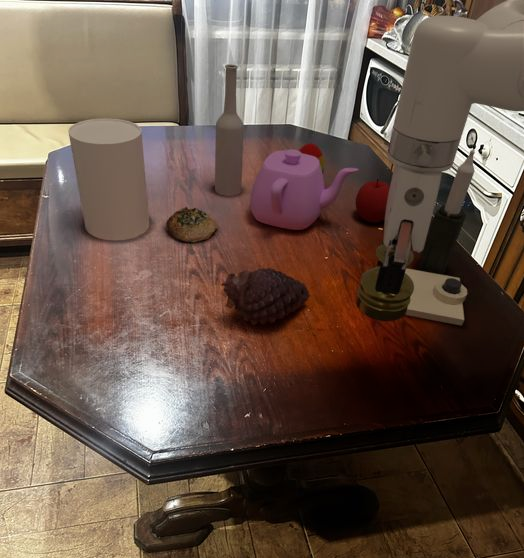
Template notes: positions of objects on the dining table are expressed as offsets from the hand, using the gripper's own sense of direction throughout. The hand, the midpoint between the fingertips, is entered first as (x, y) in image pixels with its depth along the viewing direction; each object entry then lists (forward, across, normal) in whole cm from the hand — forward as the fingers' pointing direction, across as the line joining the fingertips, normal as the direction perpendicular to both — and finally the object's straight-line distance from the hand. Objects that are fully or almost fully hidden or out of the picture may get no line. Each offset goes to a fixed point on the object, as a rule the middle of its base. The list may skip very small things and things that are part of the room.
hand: (387, 278), depth 70 cm
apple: (+19, +54, +2) cm, 57 cm away
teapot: (+19, +48, +21) cm, 56 cm away
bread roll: (+18, +34, +40) cm, 56 cm away
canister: (+18, +31, +56) cm, 67 cm away
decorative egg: (+19, +68, +20) cm, 73 cm away
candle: (+19, +36, -12) cm, 42 cm away
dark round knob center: (+16, +25, -15) cm, 33 cm away
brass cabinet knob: (+5, 0, 0) cm, 5 cm away
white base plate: (+19, +25, -9) cm, 32 cm away
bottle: (+18, +56, +38) cm, 70 cm away
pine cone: (+18, +10, +18) cm, 28 cm away
